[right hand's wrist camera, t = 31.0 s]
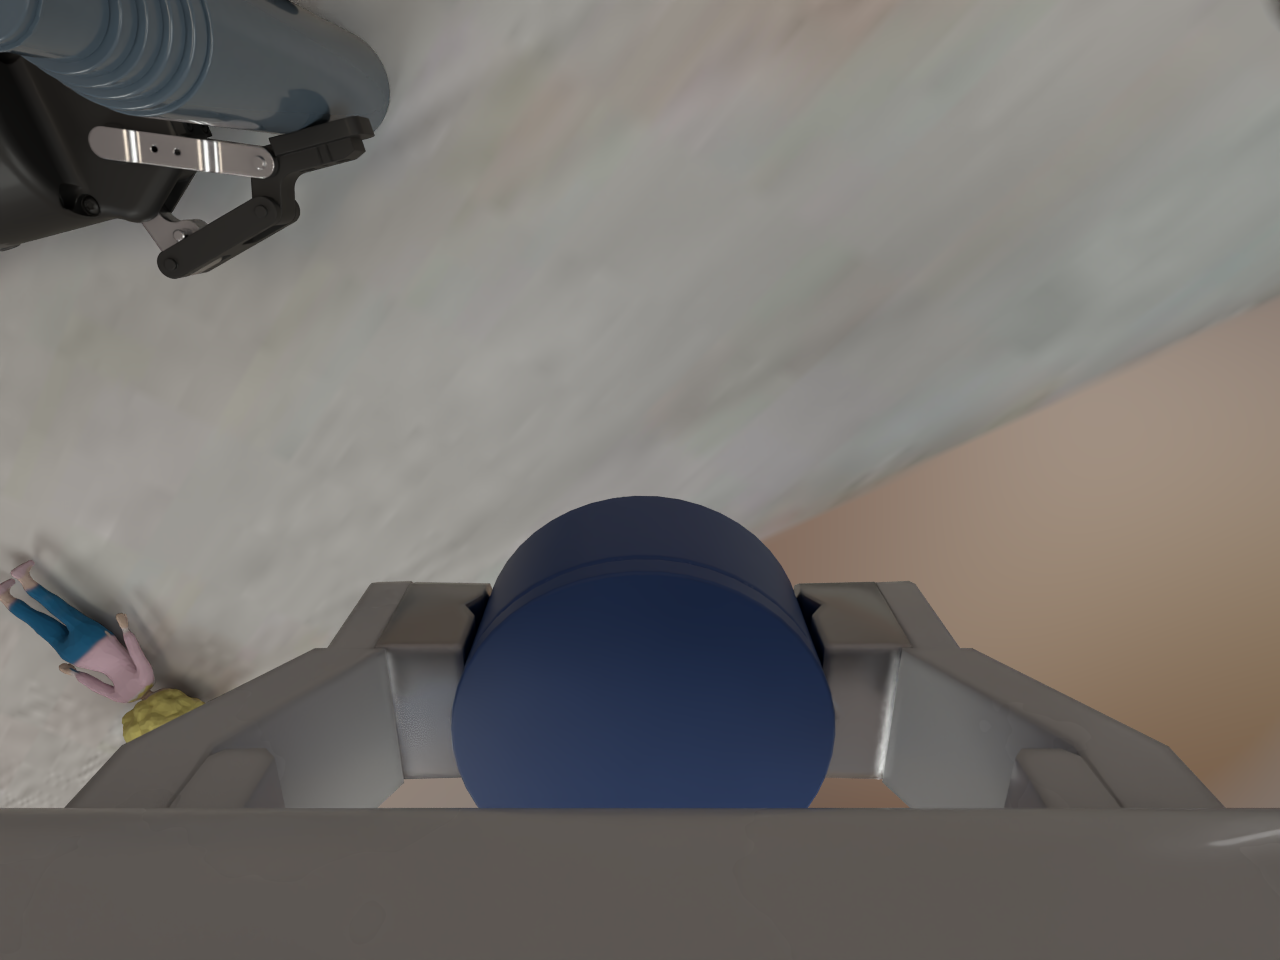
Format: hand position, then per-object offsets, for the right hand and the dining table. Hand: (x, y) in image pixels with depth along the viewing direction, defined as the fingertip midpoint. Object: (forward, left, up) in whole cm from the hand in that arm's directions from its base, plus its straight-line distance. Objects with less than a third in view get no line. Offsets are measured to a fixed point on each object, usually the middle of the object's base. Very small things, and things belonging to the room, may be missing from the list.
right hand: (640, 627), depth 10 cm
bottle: (+17, -6, -33) cm, 37 cm away
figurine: (+26, +30, -33) cm, 52 cm away
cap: (0, 0, +2) cm, 2 cm away
